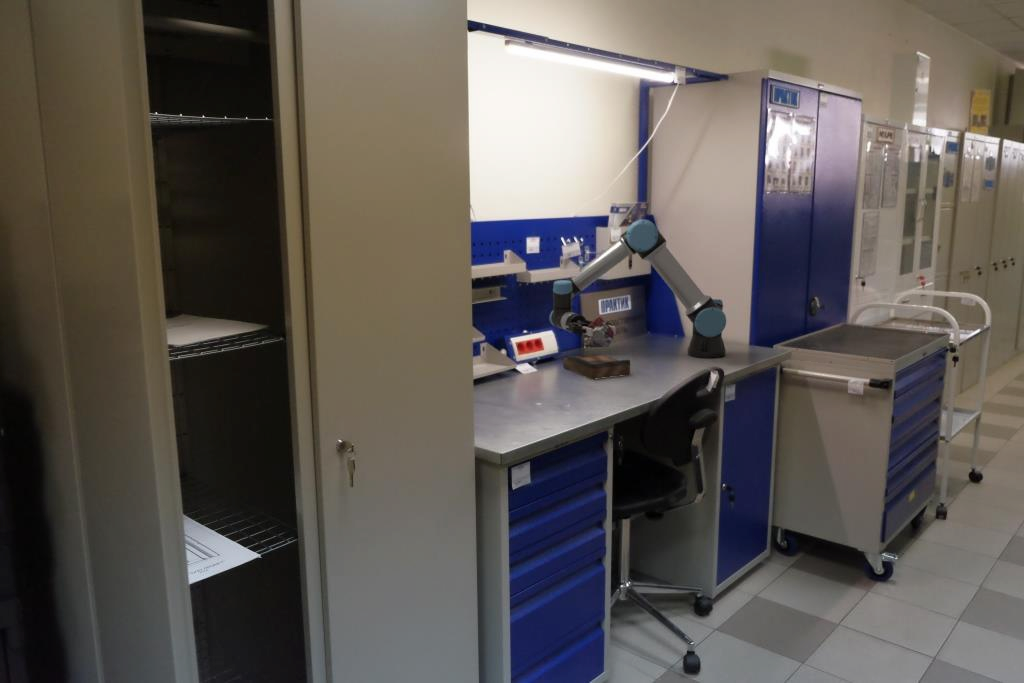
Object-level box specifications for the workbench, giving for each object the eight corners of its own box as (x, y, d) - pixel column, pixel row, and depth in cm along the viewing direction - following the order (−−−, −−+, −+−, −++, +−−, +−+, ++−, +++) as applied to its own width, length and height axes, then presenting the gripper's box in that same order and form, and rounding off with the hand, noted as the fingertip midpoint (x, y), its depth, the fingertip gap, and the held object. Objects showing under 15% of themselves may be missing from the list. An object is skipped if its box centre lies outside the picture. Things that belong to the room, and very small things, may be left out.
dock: (599, 363, 294) (599, 349, 293) (629, 374, 275) (630, 360, 274) (563, 367, 288) (563, 353, 287) (591, 379, 268) (591, 364, 267)
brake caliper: (615, 336, 282) (614, 314, 274) (613, 358, 275) (611, 336, 266) (585, 335, 285) (583, 314, 276) (582, 357, 278) (580, 335, 269)
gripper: (598, 330, 299) (628, 339, 278) (549, 334, 290) (577, 344, 270) (598, 311, 297) (628, 319, 277) (549, 315, 289) (577, 323, 268)
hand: (603, 331), depth 273 cm, fingers closed on brake caliper, 9 cm apart
